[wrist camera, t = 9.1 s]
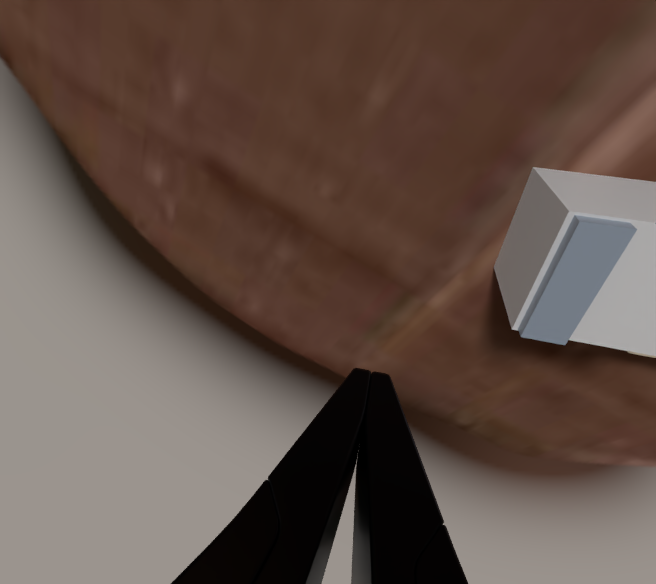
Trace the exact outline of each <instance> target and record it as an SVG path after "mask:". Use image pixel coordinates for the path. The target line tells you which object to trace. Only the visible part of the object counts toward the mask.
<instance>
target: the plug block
mask: <svg viewBox="0 0 656 584" xmlns="http://www.w3.org/2000/svg"><path fill="white" fill-rule="evenodd" d="M494 270H495V273H496V277H497V280H498V283H499V287H500V290H501V294H502V297H503V301H504V304H505V308H506V311H507V315H508V318H509V322H510V325H511V328H512V330H517V331H519V333H520V337H524V338H529V339H534V340H539V341H545V342H550V343H555V344H561V345H566V343H567V342H568V340H571V341H576V342H582V343H587V344H592V345H598V346H603V347H609V348H614V349H619V350H625V351H630V352H635V353H641V354H646V355H652V356H656V182H651V181H643V180H634V179H626V178H618V177H610V176H601V175H593V174H585V173H577V172H568V171H560V170H552V169H544V168H535V167H533V168H532V171H531V173H530V176H529V178H528V181H527V184H526V186H525V189H524V191H523V194H522V196H521V199H520V201H519V204H518V207H517V209H516V212H515V214H514V217H513V219H512V222H511V224H510V227H509V230H508V232H507V235H506V237H505V240H504V242H503V245H502V248H501V250H500V253H499V255H498V258H497V260H496V263H495V265H494Z"/></svg>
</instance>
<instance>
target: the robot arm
mask: <svg viewBox="0 0 656 584" xmlns="http://www.w3.org/2000/svg"><path fill="white" fill-rule="evenodd" d="M358 450H359V451H358ZM357 455H358V458H357ZM356 460H357V467H356V485H355V508H354V509H355V510H354V532H353V555H352V580H351V581H352V582H351V584H468V582H467V580H466V577H465V574H464V572H463V569H462V567H461V564H460V562H459V560H458V557H457V555H456V552H455V550H454V547H453V544H452V541H451V539H450V536H449V533H448V531H447V528H446V526H445V525H443V523H444V520H443V518H442V515H441V513H440V510H439V507H438V504H437V501H436V499H435V496H434V494H433V491H432V488H431V485H430V483H429V480H428V477H427V475H426V472H425V469H424V466H423V464H422V461H421V458H420V456H419V453H418V450H417V447H416V445H415V442H414V439H413V437H412V434H411V431H410V429H409V426H408V423H407V420H406V418H405V415H404V412H403V410H402V407H401V404H400V401H399V399H398V396H397V393H396V391H395V388H394V385H393V383H392V380H391V377H390V376H389V375H388V374H385V373H380V372H372V374H371V372H370V371H369V370H365V369H360V368H354V369H353V370H352V371H351V373H350V374H349V375H348V376H347V378H346V379H345V380H344V382H343V383H342V384H341V385H340V387H339V388H338V389H337V390H336V392H335V393H334V394H333V395H332V397H331V398H330V399H329V400H328V402H327V403H326V404H325V405H324V407H323V408H322V409H321V411H320V412H319V413H318V414H317V416H316V417H315V418H314V419H313V421H312V422H311V423H310V424H309V426H308V427H307V428H306V430H305V431H304V432H303V433H302V435H301V436H300V437H299V438H298V440H297V441H296V442H295V443H294V445H293V446H292V447H291V449H290V450H289V451H288V452H287V454H286V455H285V456H284V458H283V459H282V460H281V461H280V462H279V464H278V465H277V466H276V467H275V469H274V470H273V471H272V473H271V474H270V475H269V476H268V480H265V481H264V482H263V484H262V485H261V486H260V488H259V489H258V490H257V491H256V492H255V494H254V495H253V496H252V497H251V499H250V500H249V501H248V502H247V503H246V505H245V506H244V507H243V508H242V509H241V511H240V512H239V513H238V514H237V515H236V516H235V518H234V519H233V520H232V521H231V522H230V523H229V524H228V525H227V527H225V528H224V530H223V531H222V532H221V533H220V534H219V535H218V536H217V537H216V538H215V539H214V540H213V541H212V542H211V543H210V545H208V547H206V548H205V550H204V551H203V552H202V553H201V554H200V555H199V556H198V557H197V558H196V559H195V560H194V561H193V562H192V563H191V564H190V565H189V566H188V567H187V568H186V569H185V570H184V571H183V572H182V573H181V574H180V575H179V576H178V577H177V578H176V579H175V580H174V581H173V582H172V583H171V584H321V583H322V579H323V576H324V572H325V569H326V565H327V562H328V559H329V555H330V552H331V548H332V545H333V541H334V538H335V535H336V531H337V527H338V524H339V520H340V517H341V514H342V510H343V507H344V504H345V500H346V496H347V493H348V490H349V486H350V483H351V479H352V476H353V472H354V468H355V465H356Z"/></svg>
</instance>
